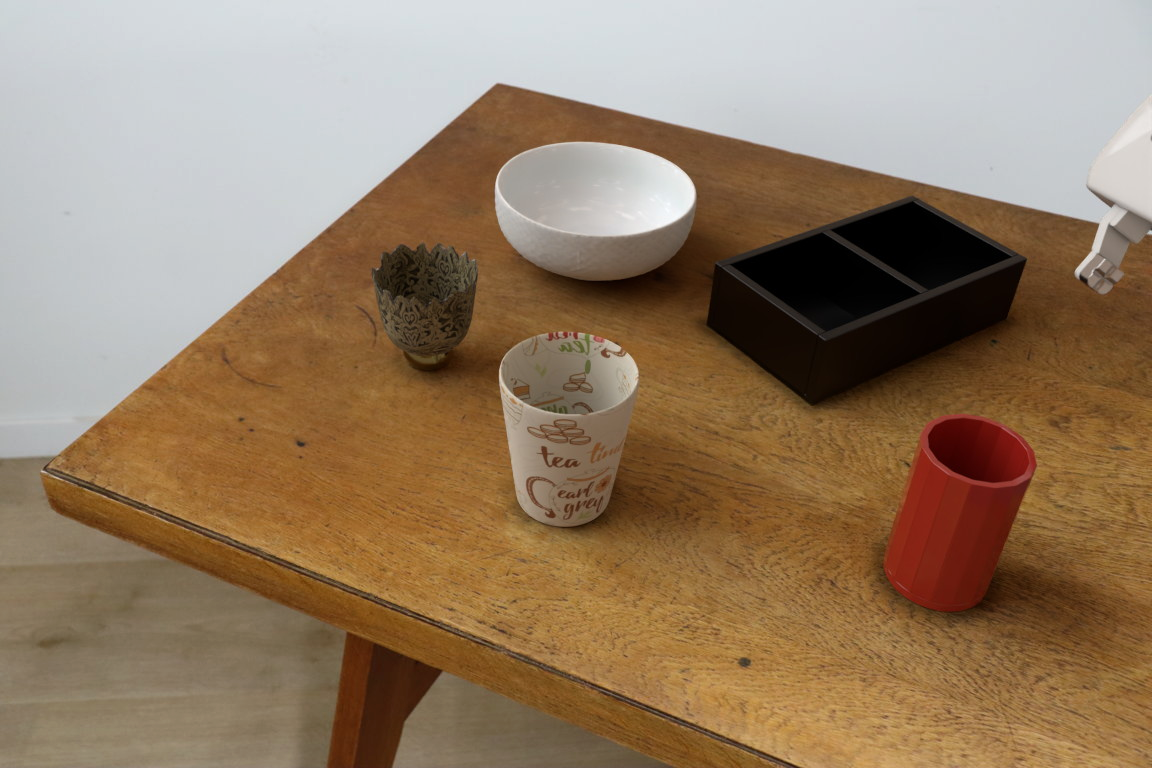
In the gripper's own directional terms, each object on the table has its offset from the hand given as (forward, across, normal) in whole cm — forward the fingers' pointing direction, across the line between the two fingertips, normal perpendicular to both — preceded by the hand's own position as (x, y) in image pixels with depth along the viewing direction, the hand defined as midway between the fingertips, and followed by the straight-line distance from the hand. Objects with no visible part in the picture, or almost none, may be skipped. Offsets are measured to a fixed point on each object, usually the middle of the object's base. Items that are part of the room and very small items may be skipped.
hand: (1133, 316), depth 62 cm
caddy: (+12, +26, -2) cm, 29 cm away
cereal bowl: (+21, +37, +16) cm, 45 cm away
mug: (+29, +10, +17) cm, 35 cm away
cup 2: (+19, 0, -2) cm, 19 cm away
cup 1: (+32, +23, +26) cm, 47 cm away
